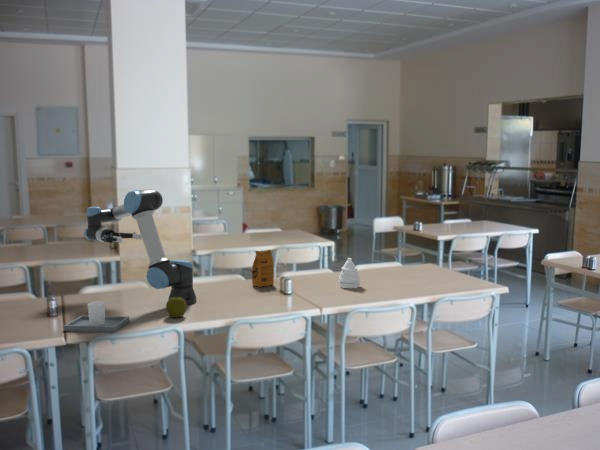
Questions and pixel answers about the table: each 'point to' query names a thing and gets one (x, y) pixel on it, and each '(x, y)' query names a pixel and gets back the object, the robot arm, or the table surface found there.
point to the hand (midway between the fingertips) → (131, 238)
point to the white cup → (96, 313)
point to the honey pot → (349, 275)
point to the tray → (84, 326)
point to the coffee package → (263, 269)
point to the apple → (176, 307)
